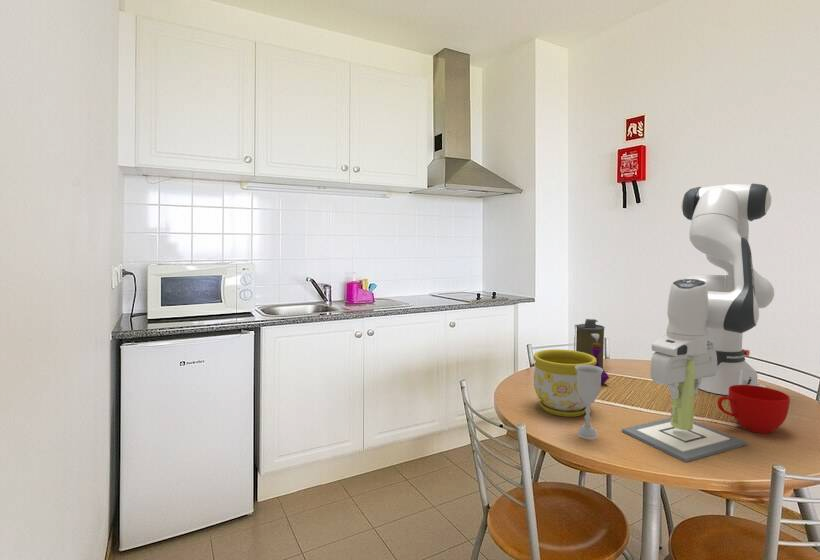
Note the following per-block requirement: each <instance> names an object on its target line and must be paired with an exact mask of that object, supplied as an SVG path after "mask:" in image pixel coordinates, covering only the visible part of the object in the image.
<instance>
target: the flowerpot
mask: <svg viewBox="0 0 820 560" xmlns="http://www.w3.org/2000/svg"><path fill="white" fill-rule="evenodd" d="M533 359H534V373H533V387H534V390H535V391H534V392H535V394H536V395H537V398H538V400H539V401H538V404H539V405H540V407H541V408H542V409H543V411H545V412H546V413H549V414H551V415H554V416H557V417H568V418H571V417H572V418H574V417H580V416H583V415H584V414H586V411H585V409H586V403H584V402H583V401H582V399H581V397H580V394H579V392H578V389H577V371H576V369H575V366H577V365H593V366H594V365H595V364H596V363H597V359H596V358H595V357H594V356H592V355H590V354H587V353H583V352H578V351H576V350H575V351H574V350H571V349H570V350H569V349H543V350H540V351H537V352H535V353H534V354H533Z"/></svg>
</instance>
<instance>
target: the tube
mask: <svg viewBox="0 0 820 560" xmlns="http://www.w3.org/2000/svg"><path fill="white" fill-rule="evenodd" d="M686 366H687V369H686V381H685V382H679V386H677V388H678V391H679V392H681V398H680V399H673V398H672V401H671V402H672V405H671V413H670V414H671V416H670V418H671V425H672V426H673V427H675V428H677V429H681V430H692V429H693V421H694V416H695V415H694V414H695V413H694V412H695V411H694V410H695V409H694V408H695V395H694V357H692V359H691V360H688V362H687V364H686Z"/></svg>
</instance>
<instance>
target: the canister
mask: <svg viewBox="0 0 820 560" xmlns="http://www.w3.org/2000/svg"><path fill="white" fill-rule="evenodd" d="M598 322H599V321H598V320H597V319H595V318H593V319H591V318H585V322H584V323H579V324H574V328H576V336H575V338H574V342H573V343H574V346H573V349H574V350H573V351H578V352H583V353H587V354H590V355H592V356H593V351H592V350H591V347H593V343H599V344H601V348H603V351H601V352H600V353H599V357H598V360H599V364H600V365H601V367H602V368H603V369H604V351H605V348H604V347H605V345H604V344H605V328H606V327H605V326H604V325H600V324H596V323H598ZM591 334H599V339H598V340H596V339H595V338H592V337H591Z"/></svg>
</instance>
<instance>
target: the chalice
mask: <svg viewBox="0 0 820 560" xmlns="http://www.w3.org/2000/svg"><path fill="white" fill-rule="evenodd" d="M575 369H576V371H577V389H578V392H579V394H580V397H581V399H582V401H583V402H584V403H586V409H585V411H586V412H585V415H584V417H583V418H584V419H585V423H584V424H582V425H581V426H580V427H579V429H578V432H576V433H577V434H576V435H577V436H578V437H579V438H582V439H585V440H589V441H590V440H593V441H594V440H596V439H598V434H597V431H596V429H595V428H594V426H592V425H591V424H590V420H592V417H591V415H590V414H591V412H592V410H591V405H592V404H594V403H595V401H596V400H597V398H598V396H599V394H600V392H601V389H602V385H601V374H602V372H603V370H604V368H603V369H602V368H600V367H597V366H593V365H577V366H575Z"/></svg>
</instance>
